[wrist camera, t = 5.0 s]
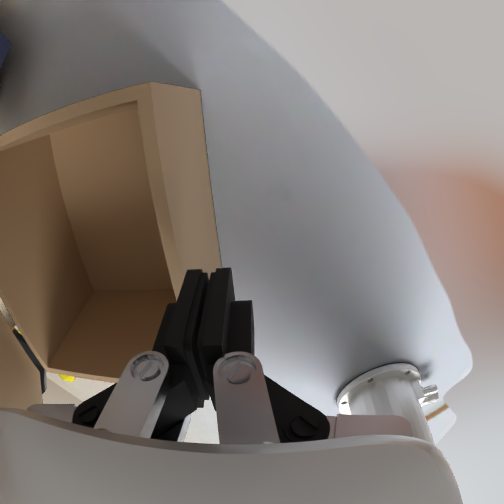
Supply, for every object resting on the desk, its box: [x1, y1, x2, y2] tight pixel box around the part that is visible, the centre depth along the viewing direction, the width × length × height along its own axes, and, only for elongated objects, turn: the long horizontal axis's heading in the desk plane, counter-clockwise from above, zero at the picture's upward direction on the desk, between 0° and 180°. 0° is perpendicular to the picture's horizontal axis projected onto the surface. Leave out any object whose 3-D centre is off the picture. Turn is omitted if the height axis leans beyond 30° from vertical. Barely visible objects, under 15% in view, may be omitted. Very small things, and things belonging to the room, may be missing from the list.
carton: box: [0, 82, 222, 383], centre depth 18 cm, size 14×17×11 cm
